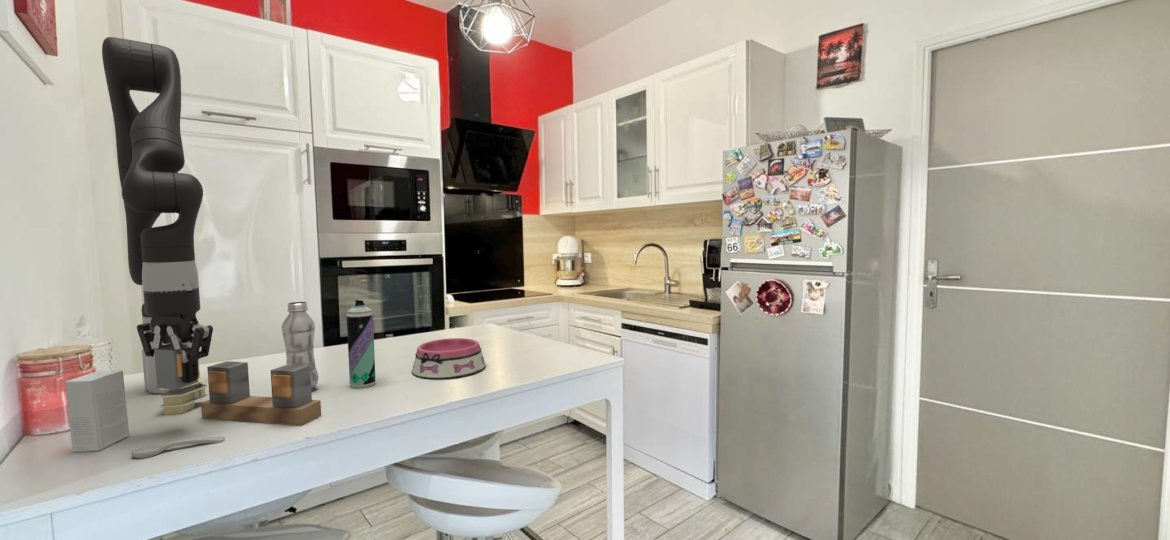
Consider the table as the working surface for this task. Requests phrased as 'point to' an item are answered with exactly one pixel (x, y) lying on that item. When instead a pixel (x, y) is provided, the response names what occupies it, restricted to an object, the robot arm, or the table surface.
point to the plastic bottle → (300, 338)
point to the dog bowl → (448, 359)
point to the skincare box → (97, 410)
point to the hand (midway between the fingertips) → (178, 380)
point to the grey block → (169, 368)
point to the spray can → (361, 345)
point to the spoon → (156, 449)
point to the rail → (236, 403)
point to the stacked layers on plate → (183, 398)
